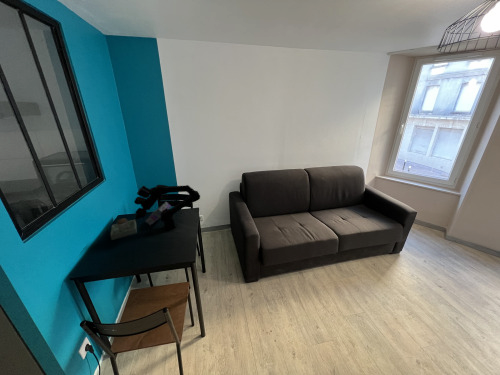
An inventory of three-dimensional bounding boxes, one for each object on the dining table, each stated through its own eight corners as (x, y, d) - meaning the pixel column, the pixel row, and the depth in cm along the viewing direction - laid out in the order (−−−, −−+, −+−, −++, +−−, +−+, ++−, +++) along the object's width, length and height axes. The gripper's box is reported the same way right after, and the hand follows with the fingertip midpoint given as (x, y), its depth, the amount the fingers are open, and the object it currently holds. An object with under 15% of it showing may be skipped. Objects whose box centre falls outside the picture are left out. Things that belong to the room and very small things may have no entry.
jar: (131, 227, 143) (128, 217, 140) (127, 232, 138) (124, 222, 134) (122, 228, 142) (119, 218, 139) (118, 233, 137) (114, 223, 133)
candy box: (150, 226, 146) (164, 214, 142) (144, 221, 145) (158, 209, 140) (158, 216, 159) (171, 206, 155) (153, 212, 157) (166, 201, 153)
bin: (136, 223, 150) (135, 219, 148) (136, 233, 138) (135, 228, 136) (113, 229, 143) (112, 225, 141) (112, 240, 131) (110, 235, 129)
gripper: (146, 188, 137) (133, 203, 140) (134, 199, 120) (121, 216, 123) (159, 197, 141) (147, 211, 144) (150, 209, 124) (137, 225, 127)
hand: (138, 215), depth 134 cm, fingers open, 9 cm apart
